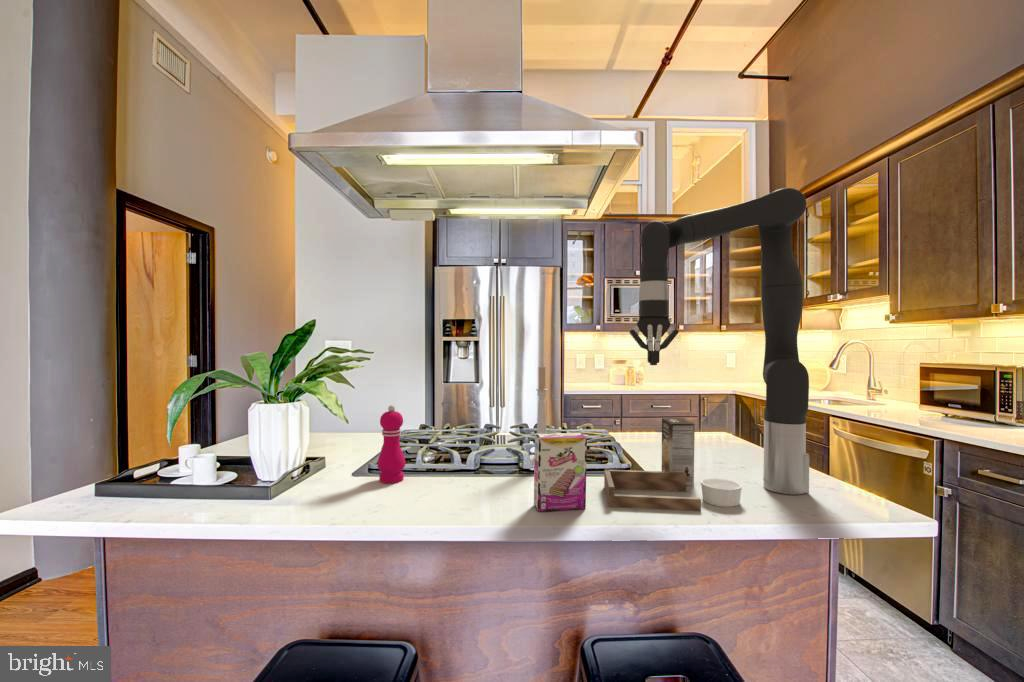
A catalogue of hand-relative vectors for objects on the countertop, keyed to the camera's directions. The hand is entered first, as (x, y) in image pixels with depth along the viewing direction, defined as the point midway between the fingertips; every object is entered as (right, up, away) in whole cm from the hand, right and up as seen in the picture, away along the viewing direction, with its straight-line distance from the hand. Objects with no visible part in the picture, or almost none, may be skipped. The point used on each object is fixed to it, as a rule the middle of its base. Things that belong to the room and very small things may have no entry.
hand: (653, 365), depth 127 cm
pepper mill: (-69, -31, +1) cm, 76 cm away
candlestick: (-28, -31, +16) cm, 45 cm away
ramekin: (+12, -32, -14) cm, 36 cm away
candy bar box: (-26, -31, -19) cm, 45 cm away
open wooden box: (-5, -31, -12) cm, 34 cm away
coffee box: (+7, -31, +2) cm, 32 cm away
